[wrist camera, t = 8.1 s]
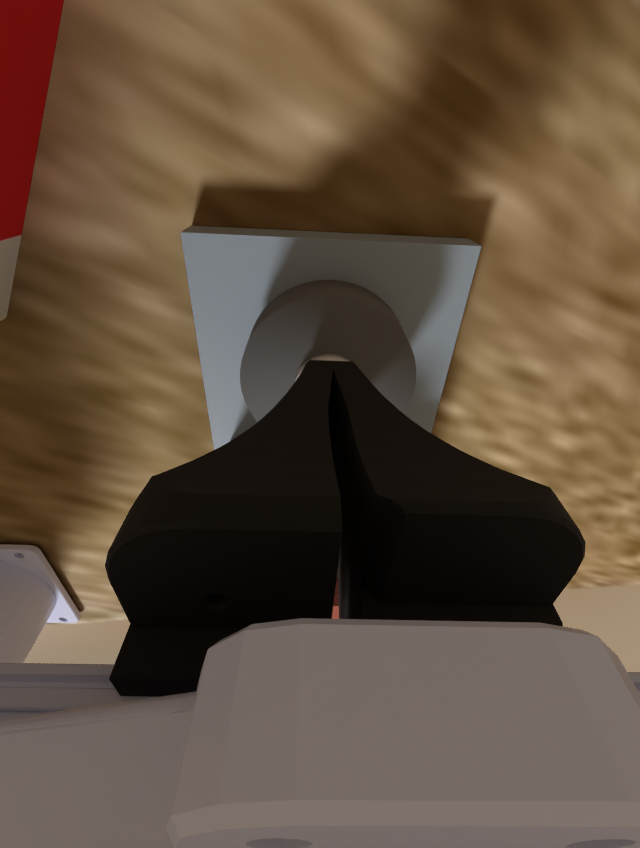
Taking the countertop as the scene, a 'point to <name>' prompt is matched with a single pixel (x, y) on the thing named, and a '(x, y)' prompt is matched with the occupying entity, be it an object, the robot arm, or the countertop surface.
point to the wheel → (325, 343)
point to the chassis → (310, 261)
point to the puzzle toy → (21, 115)
